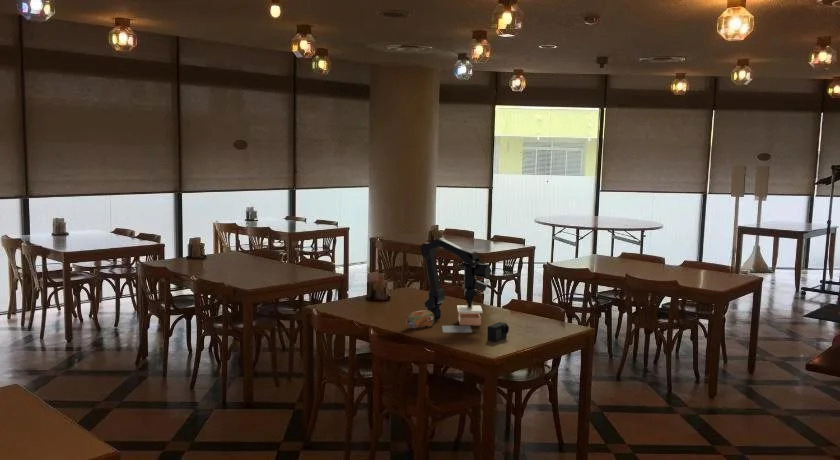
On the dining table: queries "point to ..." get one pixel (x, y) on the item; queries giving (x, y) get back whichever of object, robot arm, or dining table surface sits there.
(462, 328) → the mat
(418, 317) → the tin
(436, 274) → the robot arm
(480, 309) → the lid
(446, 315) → the dining table surface
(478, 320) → the dish
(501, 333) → the digital camera
